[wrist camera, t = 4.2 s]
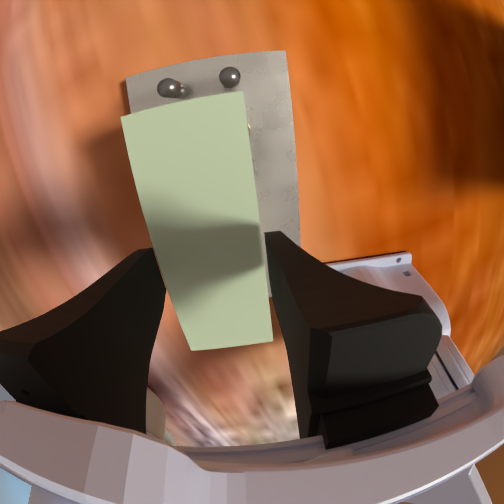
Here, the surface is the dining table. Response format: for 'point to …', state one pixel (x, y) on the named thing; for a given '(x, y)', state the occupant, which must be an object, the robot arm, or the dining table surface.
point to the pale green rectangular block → (203, 216)
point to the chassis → (258, 120)
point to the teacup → (157, 419)
